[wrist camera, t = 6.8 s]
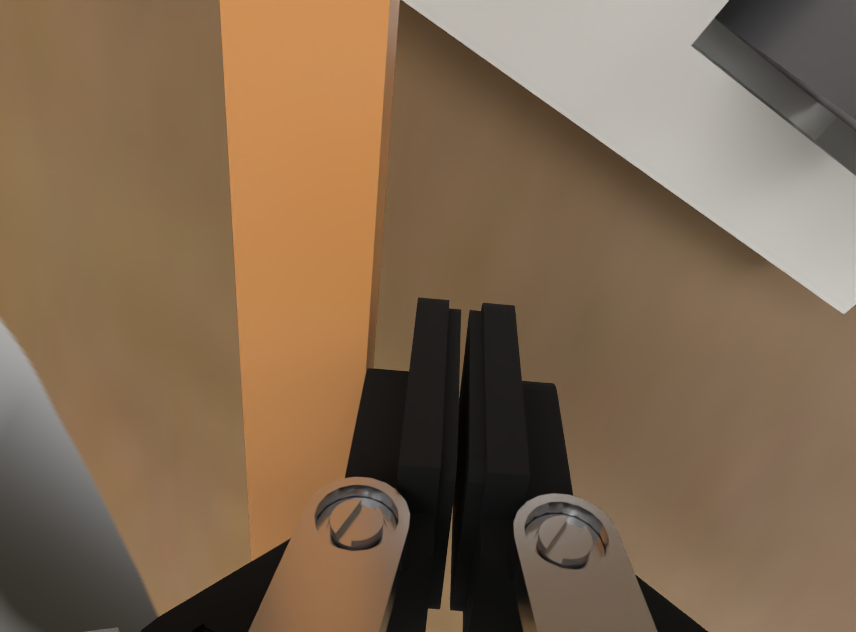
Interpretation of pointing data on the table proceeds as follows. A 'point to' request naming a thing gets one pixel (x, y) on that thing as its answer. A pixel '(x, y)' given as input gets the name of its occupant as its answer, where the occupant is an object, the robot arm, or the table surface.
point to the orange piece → (305, 233)
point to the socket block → (687, 117)
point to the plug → (804, 45)
